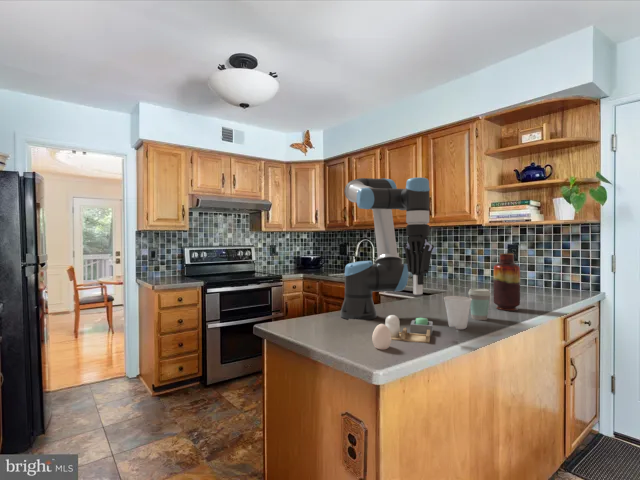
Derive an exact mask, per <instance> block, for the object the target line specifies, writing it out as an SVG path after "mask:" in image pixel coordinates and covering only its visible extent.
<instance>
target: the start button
mask: <svg viewBox="0 0 640 480" xmlns="http://www.w3.org/2000/svg"><path fill="white" fill-rule="evenodd" d="M415 320H416V324H421V325H428V321H429V319H428V318H425V317H415Z"/></svg>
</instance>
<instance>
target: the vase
mask: <svg viewBox="0 0 640 480" xmlns="http://www.w3.org/2000/svg"><path fill="white" fill-rule="evenodd" d="M493 304H495V305H496V306H495V309H496V310H497V311H503V312H517V311H518V308H517V307H518V306H520V305H521V267H520V266H519V264H517V263H515V254H514V253H500V254H499V262H497V263H496V264H494V265H493Z"/></svg>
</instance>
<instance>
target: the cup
mask: <svg viewBox="0 0 640 480" xmlns="http://www.w3.org/2000/svg"><path fill="white" fill-rule="evenodd" d="M443 299H444V300H443V301H444V305H445V311H446V316H447V324H448V327H450V328H455V330H465V329H466V328H467V327H468V321H469V316H470V311H471V308H470V305H471V300H472V299H471V298H469V297H468V296H462V295H461V296H459V295H447V296H444V297H443Z"/></svg>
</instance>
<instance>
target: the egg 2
mask: <svg viewBox="0 0 640 480" xmlns="http://www.w3.org/2000/svg"><path fill="white" fill-rule="evenodd" d="M384 325H386V326H387V327H388V329H389V331H390V334H391V338H398V337H400V332H401V331H400V330H401V328H400V319H399V316H397V315H395V314H390V315H389V314H388V315H387V316H386V317H385V322H384Z"/></svg>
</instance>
